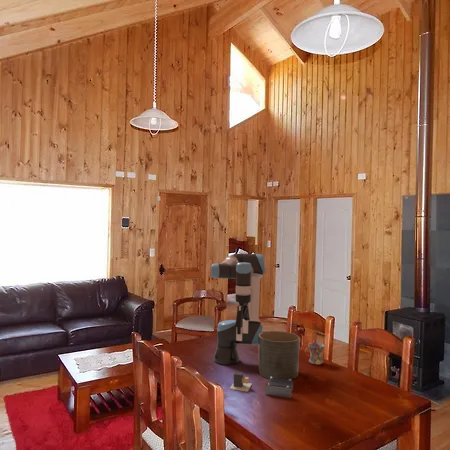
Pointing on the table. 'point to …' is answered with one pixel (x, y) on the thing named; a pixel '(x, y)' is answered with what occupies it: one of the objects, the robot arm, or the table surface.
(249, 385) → the coaster
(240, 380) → the plug
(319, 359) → the mug
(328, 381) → the table surface
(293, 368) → the planter
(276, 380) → the shaft channel
